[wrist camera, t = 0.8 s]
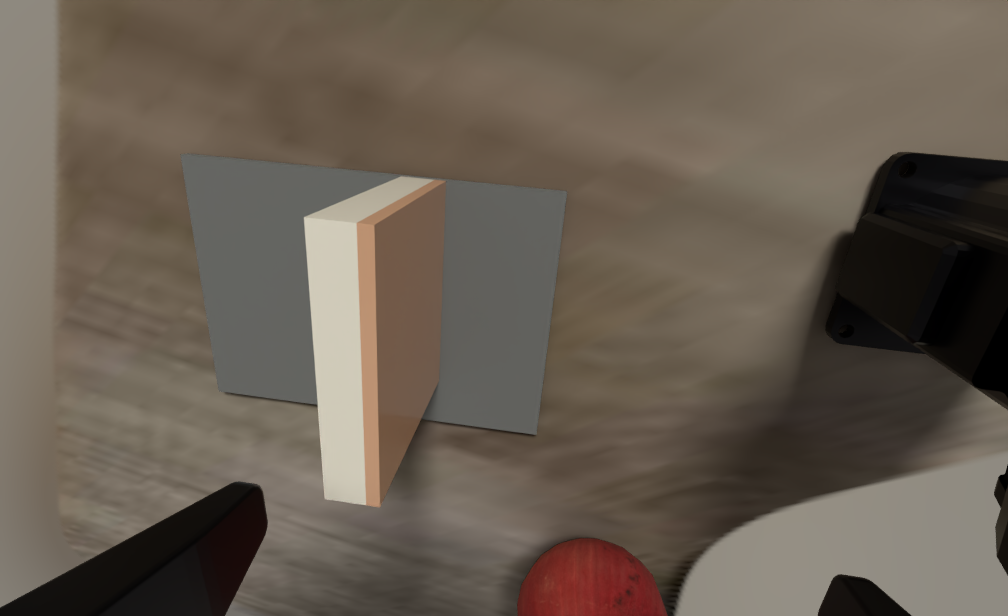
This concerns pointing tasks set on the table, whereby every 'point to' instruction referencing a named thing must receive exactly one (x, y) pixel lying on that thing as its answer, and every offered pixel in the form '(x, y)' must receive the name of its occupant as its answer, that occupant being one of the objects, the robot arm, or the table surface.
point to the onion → (589, 583)
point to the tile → (375, 329)
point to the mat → (465, 288)
